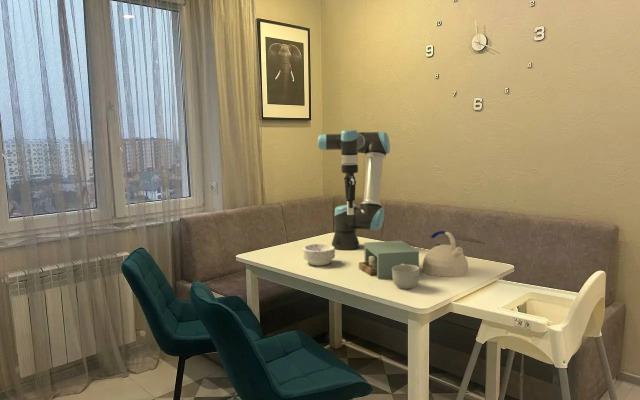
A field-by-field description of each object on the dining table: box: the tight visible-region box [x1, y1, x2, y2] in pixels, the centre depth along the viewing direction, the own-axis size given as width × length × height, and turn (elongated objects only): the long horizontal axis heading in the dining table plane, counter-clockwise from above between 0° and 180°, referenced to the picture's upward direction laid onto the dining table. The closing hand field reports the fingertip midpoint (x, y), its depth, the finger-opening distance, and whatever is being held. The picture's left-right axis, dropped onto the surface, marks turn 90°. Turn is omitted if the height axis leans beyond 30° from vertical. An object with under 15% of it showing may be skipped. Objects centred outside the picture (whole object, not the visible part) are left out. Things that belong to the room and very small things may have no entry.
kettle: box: [421, 230, 469, 278], centre depth 214 cm, size 20×21×18 cm
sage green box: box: [364, 240, 420, 280], centre depth 215 cm, size 22×18×11 cm
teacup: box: [392, 264, 420, 290], centre depth 194 cm, size 14×11×8 cm
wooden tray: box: [358, 256, 377, 277], centre depth 216 cm, size 12×16×7 cm
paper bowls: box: [302, 243, 336, 267], centre depth 230 cm, size 15×15×8 cm
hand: (350, 214), depth 223 cm, fingers closed
